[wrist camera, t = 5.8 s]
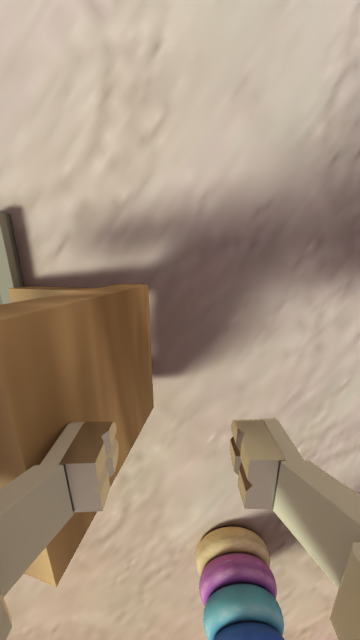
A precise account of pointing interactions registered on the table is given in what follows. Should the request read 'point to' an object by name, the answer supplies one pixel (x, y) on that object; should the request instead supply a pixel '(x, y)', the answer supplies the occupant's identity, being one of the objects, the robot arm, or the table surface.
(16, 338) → the stool
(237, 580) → the stacking toy
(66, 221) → the table surface
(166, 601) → the table surface
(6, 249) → the mat
